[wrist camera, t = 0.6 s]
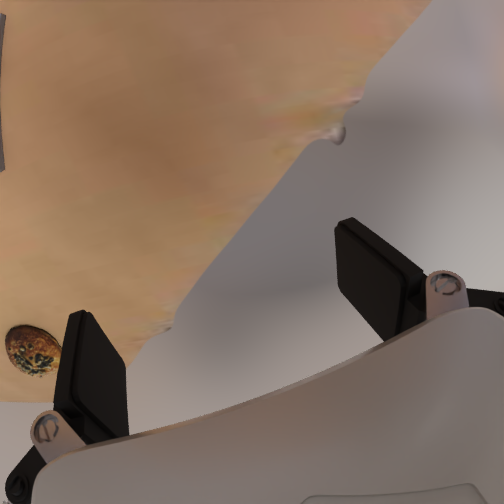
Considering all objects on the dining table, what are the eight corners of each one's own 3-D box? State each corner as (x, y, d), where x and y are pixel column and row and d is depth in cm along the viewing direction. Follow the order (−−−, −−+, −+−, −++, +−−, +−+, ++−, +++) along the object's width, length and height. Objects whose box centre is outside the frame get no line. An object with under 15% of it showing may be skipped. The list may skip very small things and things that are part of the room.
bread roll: (15, 311, 37) (10, 336, 34) (74, 339, 44) (74, 363, 41) (-1, 349, 39) (-5, 372, 36) (51, 371, 46) (51, 394, 43)
